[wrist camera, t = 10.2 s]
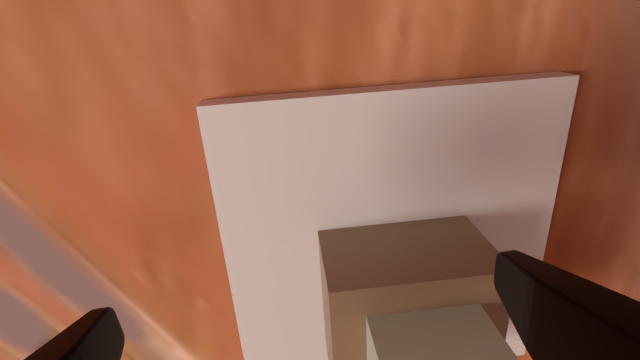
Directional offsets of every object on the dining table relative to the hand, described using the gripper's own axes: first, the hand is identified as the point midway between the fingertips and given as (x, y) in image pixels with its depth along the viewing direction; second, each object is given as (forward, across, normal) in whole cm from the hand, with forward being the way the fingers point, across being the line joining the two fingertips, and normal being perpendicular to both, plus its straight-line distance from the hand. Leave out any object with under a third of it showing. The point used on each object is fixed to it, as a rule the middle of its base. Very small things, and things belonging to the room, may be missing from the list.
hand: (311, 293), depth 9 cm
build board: (+12, -4, +7) cm, 14 cm away
